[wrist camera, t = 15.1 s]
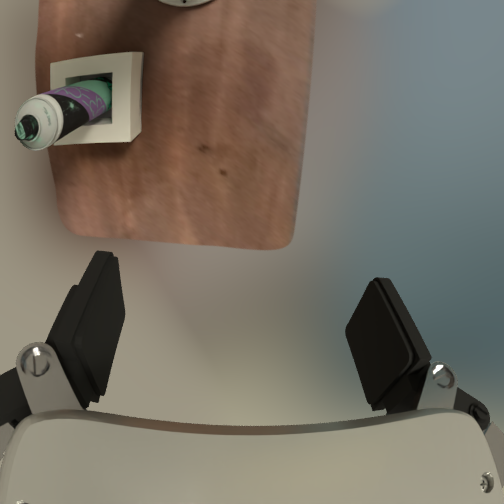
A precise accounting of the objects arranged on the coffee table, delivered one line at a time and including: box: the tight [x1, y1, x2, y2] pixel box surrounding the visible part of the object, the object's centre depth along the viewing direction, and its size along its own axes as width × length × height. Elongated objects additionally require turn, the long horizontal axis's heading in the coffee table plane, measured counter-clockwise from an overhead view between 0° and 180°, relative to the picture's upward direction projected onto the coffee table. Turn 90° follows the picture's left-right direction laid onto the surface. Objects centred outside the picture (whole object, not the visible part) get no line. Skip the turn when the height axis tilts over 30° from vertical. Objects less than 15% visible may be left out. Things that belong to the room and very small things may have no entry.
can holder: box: [50, 52, 144, 145], centre depth 34 cm, size 12×12×6 cm
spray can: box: [15, 77, 112, 151], centre depth 27 cm, size 6×6×20 cm
